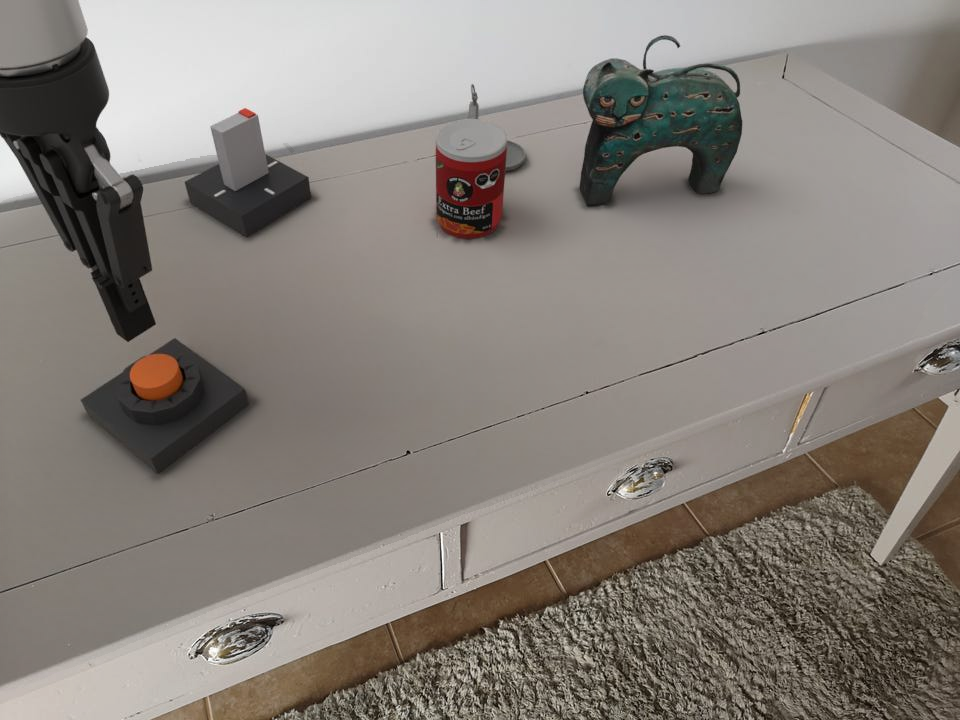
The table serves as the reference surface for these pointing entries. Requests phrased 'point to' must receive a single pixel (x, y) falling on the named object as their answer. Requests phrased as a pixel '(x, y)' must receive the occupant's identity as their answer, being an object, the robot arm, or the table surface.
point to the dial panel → (249, 196)
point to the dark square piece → (167, 409)
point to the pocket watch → (513, 149)
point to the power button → (156, 377)
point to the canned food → (470, 177)
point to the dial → (240, 149)
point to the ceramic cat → (657, 121)
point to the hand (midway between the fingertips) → (136, 328)
